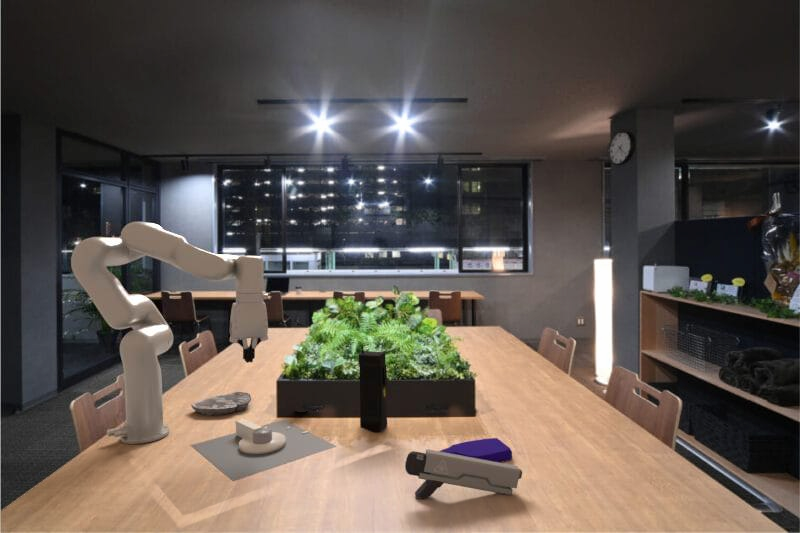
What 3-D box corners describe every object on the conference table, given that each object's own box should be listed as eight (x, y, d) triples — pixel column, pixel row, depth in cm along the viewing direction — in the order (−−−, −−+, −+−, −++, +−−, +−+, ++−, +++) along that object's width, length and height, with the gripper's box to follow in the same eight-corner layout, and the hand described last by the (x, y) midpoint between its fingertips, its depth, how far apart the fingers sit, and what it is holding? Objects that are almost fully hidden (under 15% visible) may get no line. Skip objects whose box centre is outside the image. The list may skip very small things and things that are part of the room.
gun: (398, 489, 106) (408, 445, 105) (510, 510, 107) (520, 465, 107) (399, 495, 103) (409, 449, 103) (513, 516, 105) (523, 471, 104)
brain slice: (213, 422, 153) (213, 413, 153) (185, 412, 163) (184, 403, 163) (265, 406, 168) (265, 397, 168) (236, 397, 179) (235, 389, 179)
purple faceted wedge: (495, 435, 132) (408, 448, 125) (516, 451, 121) (422, 466, 114) (495, 446, 132) (409, 460, 125) (516, 462, 121) (423, 479, 114)
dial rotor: (294, 443, 130) (294, 429, 130) (254, 458, 121) (253, 442, 121) (259, 427, 142) (258, 414, 142) (219, 440, 134) (219, 425, 133)
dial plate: (233, 487, 110) (233, 480, 110) (190, 450, 131) (190, 444, 131) (336, 451, 129) (336, 445, 129) (284, 424, 150) (284, 418, 150)
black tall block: (391, 426, 147) (389, 343, 146) (384, 433, 141) (382, 347, 140) (367, 423, 149) (365, 342, 148) (359, 430, 144) (357, 346, 143)
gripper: (272, 296, 148) (271, 356, 148) (220, 297, 140) (219, 361, 141) (278, 299, 141) (277, 362, 142) (224, 300, 134) (223, 367, 134)
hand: (248, 361), depth 141 cm, fingers closed
